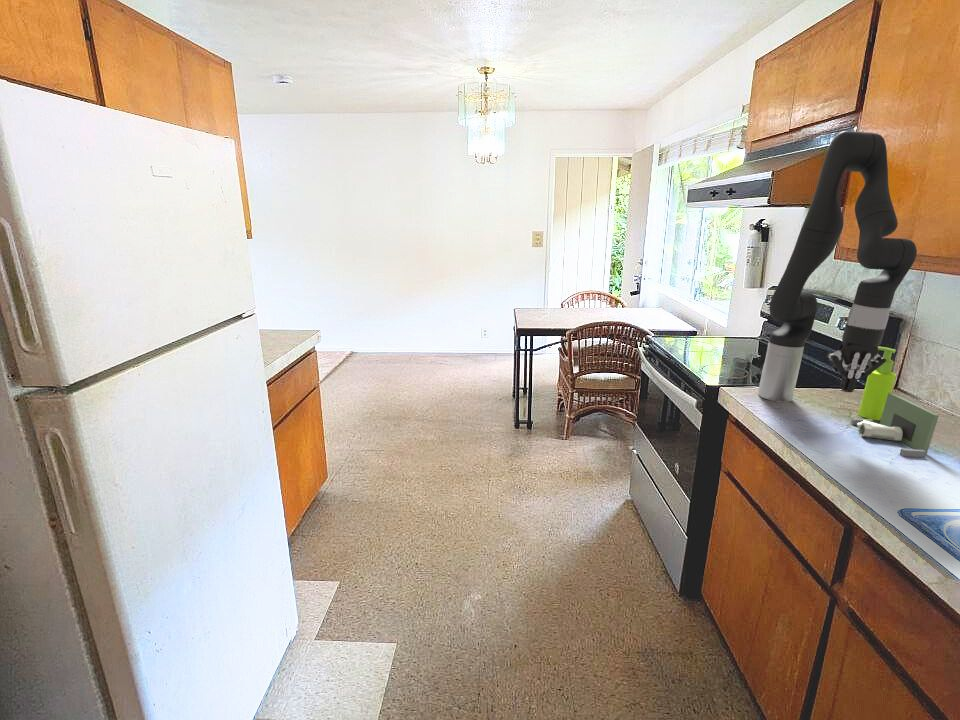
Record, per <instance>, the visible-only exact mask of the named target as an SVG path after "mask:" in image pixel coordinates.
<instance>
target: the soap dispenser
mask: <svg viewBox="0 0 960 720" xmlns="http://www.w3.org/2000/svg"><path fill="white" fill-rule="evenodd" d="M878 350H879V351H884V352H883V356H882V358H885V359H886V362H885V363H884V364H882V365H881V366H880V367H879V368H877V369H876V370H875V371H874V372H872V373H871V374H870V375H869V376H867V377H866V382H865V385H864V390H863V392H862V397H861V402H860V404H859V405H860V406H859V409H858V412H857V414H858V416H860V417H862V418H863V419H871V420H873V421H880V420H881V417H882V413H883V410H884V406H885V403H886V399H887V395H888V393H893V389H894V384H895V383H896V382H895V381H896V378H897V374H896V373H894V372H892V370H893V366H894V360H892V359H891V358H892V357H893V354H895V353H896V351H897V350H896V349H895V348H891V347H886V346H878Z"/></svg>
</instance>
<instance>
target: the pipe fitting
mask: <svg viewBox="0 0 960 720" xmlns="http://www.w3.org/2000/svg"><path fill="white" fill-rule="evenodd" d="M856 426H857V428H858V435H859V436H860V437H861V438H866V439H867V438H870V439H871V438H872V439H873V438H874V439H879V440H887V441H888V440H889V441H892V442H902V441H901V439H902V436H903V432H902V429H901V428H900V427H895V426H893V427H888V426H885V425H881V424H880V423H877V422H874V421H873V422H870V421H867V420H864V421H863V422H860V423H858V424H857V425H856Z"/></svg>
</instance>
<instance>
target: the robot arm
mask: <svg viewBox="0 0 960 720" xmlns="http://www.w3.org/2000/svg"><path fill="white" fill-rule="evenodd" d="M887 154H888V150H887V144H886V141H885V138H884V136H882V135H881V134H878V133H875V132H870V131H869V132H868V131H857V130H856V131H855V130H843V131H840V132H838V133H837V134H836V135H835V136H834V137H833V138H832V140H831V141H830V144H829V146H828V148H827V150H826V153H825V156H824V160H823V163H822V166H821V171H820V174H819V177H818V182H817V184H816V188H815V192H814V193H813V194H814V195H813V196H812V200H811V203H810V205H809V208H808V211H807V213H806V216H805V218H804V221H803V222H802V224H801V225H802V226H801V228H800V231H799V234H798V236H797V240H796V242H795V246H794V248H793V251H792V254H791V256H790V258H789V260H788V262H787V264H786V268H785V270H784V272H783V275H782V276H781V278H780V281H779V283H778V284H777V286H776V288H775V290H774V292H773V294H772V296H771V299H770V301H769V306H768V307H769V308H768V309H769V311H768V312H769V315H770V316H771V318H772V320H774V321H775V322H778V323H779V322H781V323H783V324H782V325H781V326H780V327H779V328H777V329H776V330H773V331H772V332H771V333H770V334H769V339H768V343H767V348H766V349H767V350H766V353H765V359H764V362H763V366H762V371H761V376H760V381H759V385H758V386H759V387H758V391H757V392H758V396H759V397H761V398H762V399H765V400H769V401H772V402H777V403H790V402H792V401H793V398H794V393H795V391H796V385H797V380H798V378H799V377H798V376H799V372H800V371H799V370H800V367H801V362H802V358H803V355H804V354H803V353H804V348H805V346H806V341H807V340H808V339H809V338H810V335H811V334H812V330H813V329H812V328H813V326H814V323H815V319H816V316H817V311H818V299H817V297H816V296H815V294H814V293H813V292H812V291H810V290H805V289H804V287H805V285H806V283H807V281H808V279H809V278H810V276H812V274H813V273H814V272H815V270H817V268H819V267H820V266H821V264H823V263H824V262H825V261H826V260H827V258H829V257H830V256H831V254H832V253H833V251H834V249H835V247H836V246H837V244H838V241H839V239H840V236H841V234H842V231H843V229H844V216H843V211H842V206H841V203H840V197H839V189H840V184H841V180H842V178H843V177H842V176H843V174H844V172H852V173H860V174H861V176H862V178H863V180H864V181H863V182H864V185H863V188H861V191H860V193H858V196H857V199H856V201H855V205H854V214H855V215H854V216H855V219H856V222H857V226H858V229H859V233H858V234H859V237H858V246H857V252H856V258H857V261H858V264H860V266H862V267H863V268H865V269H868V270H882V271H881V272H880V273H879V275H878V276H876V277H873V278H866V279H863V280H861V281H860V282H859V283H858V285H857V289H856V292H855V295H854V300H853V302H852V306H851V308H850V309H849V312H848V316H847V320H846V323H845V327H844V331H843V334H842V338H841V339H842V340H841V341H842V342H841V344H840V345H839V346H838V348H837V350H836V351H834V352H828V353H827V354H826V357H827V359H828V361H829V363H830V364H831V366H832V368H833V370H834V372H835V373H837V374H840V375H841V377H842V378H841V381H840V384H839V388H840V389H841V391H843V392H845V393H853V391H855V390H856V388H857V383H858V380H859V379H860V378H862V377H863V378H864V377H865V378H868V376H869V375H870V374H871V373H872V372H874V371H875V370H876V369H877V368H879V367H880V366H881V365H882V364H884V363H885V362H886V359H885V358H883V356H881V355H880V354H879V351H880V350H878V347H880V345H881V344H882V340H883V337H884V333H885V332H886V331H885V330H886V328H887V324H888V321H889V318H890V317H889V316H890V312H891V311H890V310H891V305H892V303H893V299H894V298H895V297H894V296H895V294H896V291H897V290H898V287H899V285H901V283H902V281H903V280H904V278H905V277H906V276H907V274H908V272H910V269H911V268H912V267H913V265H914V263H915V261H916V259H917V257H918V256H917V255H918V253H917V252H918V249H917V246H916V244H915V242H914V241H913V240H911V239H908V238H893V237H892V238H890V237H889V238H888V237H887V236H889V235H892V234H893V233H894V232H895V231H896V230H897V229H898V224H899V223H898V217H897V215H896V211H895V208H894V205H893V201H892V198H891V194H890V187H889V166H888V155H887ZM841 360H842V363H841Z"/></svg>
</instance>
